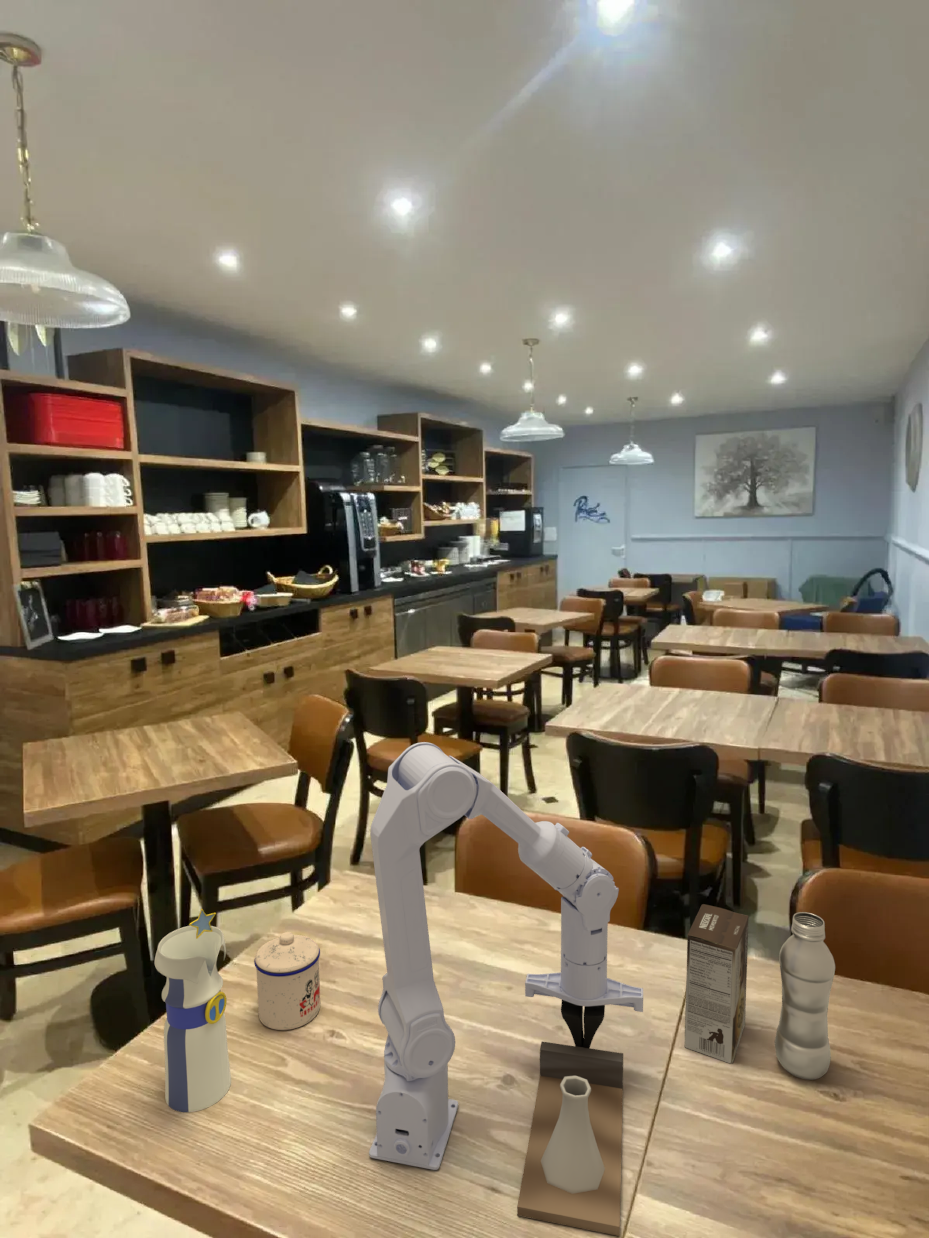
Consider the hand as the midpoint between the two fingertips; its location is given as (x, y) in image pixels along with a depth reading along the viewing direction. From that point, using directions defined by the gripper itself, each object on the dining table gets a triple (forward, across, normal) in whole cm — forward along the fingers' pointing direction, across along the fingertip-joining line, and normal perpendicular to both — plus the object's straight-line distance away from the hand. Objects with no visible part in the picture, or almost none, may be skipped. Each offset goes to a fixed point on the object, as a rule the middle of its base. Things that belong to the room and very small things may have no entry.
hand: (583, 1052), depth 93 cm
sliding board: (+2, 0, +13) cm, 13 cm away
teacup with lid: (+2, +42, -4) cm, 42 cm away
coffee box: (+2, -17, -10) cm, 20 cm away
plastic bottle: (+2, -27, -6) cm, 28 cm away
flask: (+2, 0, +16) cm, 16 cm away
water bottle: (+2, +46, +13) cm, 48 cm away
